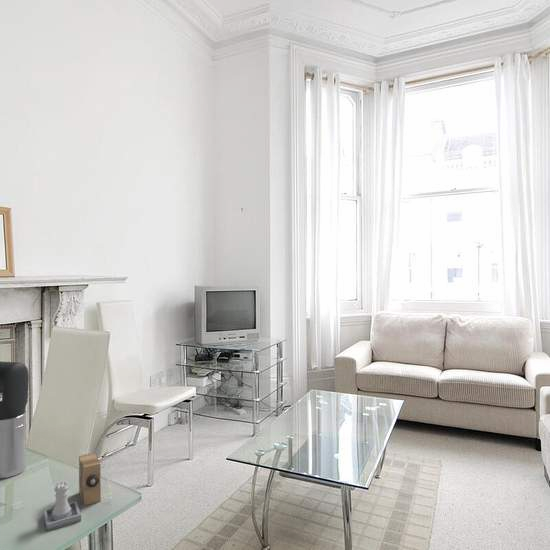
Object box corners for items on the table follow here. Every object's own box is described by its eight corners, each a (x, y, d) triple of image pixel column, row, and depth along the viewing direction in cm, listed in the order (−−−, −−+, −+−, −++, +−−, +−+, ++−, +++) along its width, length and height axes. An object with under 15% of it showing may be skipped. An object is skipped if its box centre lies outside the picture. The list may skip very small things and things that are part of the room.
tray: (43, 515, 106) (43, 509, 106) (76, 506, 110) (76, 501, 110) (46, 531, 99) (46, 524, 99) (81, 520, 103) (81, 514, 103)
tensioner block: (79, 492, 117) (78, 456, 117) (94, 488, 119) (94, 452, 119) (84, 507, 109) (84, 468, 109) (101, 502, 111) (101, 464, 111)
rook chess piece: (75, 515, 105) (75, 483, 105) (57, 524, 101) (57, 490, 101) (65, 509, 107) (65, 478, 107) (47, 518, 104) (47, 485, 104)
